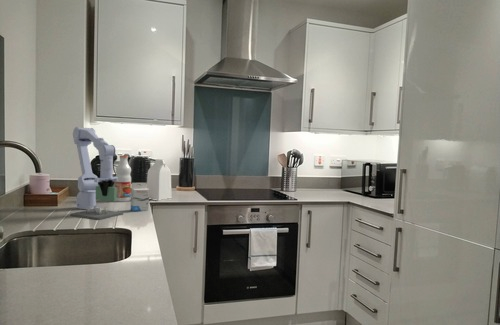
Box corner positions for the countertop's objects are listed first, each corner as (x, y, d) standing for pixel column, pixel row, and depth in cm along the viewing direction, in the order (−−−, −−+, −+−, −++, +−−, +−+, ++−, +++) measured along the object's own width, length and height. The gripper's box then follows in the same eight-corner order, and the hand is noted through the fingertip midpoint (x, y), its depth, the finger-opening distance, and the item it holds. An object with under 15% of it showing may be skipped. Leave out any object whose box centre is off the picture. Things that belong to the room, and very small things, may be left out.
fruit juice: (118, 199, 233) (120, 155, 232) (133, 200, 232) (134, 155, 231) (111, 201, 223) (112, 155, 222) (126, 202, 222) (127, 156, 221)
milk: (145, 198, 239) (146, 159, 237) (158, 197, 248) (159, 158, 247) (158, 201, 232) (160, 160, 231) (171, 199, 242) (172, 159, 241)
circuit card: (95, 199, 188) (95, 185, 187) (97, 199, 189) (97, 185, 189) (114, 201, 183) (114, 187, 183) (116, 201, 185) (116, 187, 184)
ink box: (132, 211, 194) (133, 183, 193) (130, 210, 198) (131, 182, 197) (148, 210, 198) (149, 183, 198) (145, 209, 203) (146, 182, 202)
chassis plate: (70, 215, 177) (70, 207, 177) (95, 210, 192) (95, 203, 191) (99, 219, 170) (99, 211, 170) (123, 214, 185) (123, 206, 185)
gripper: (102, 170, 177) (101, 197, 178) (122, 168, 191) (122, 194, 191) (90, 169, 180) (90, 196, 180) (112, 168, 193) (111, 193, 194)
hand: (106, 195), depth 186 cm, fingers closed on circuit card, 1 cm apart
